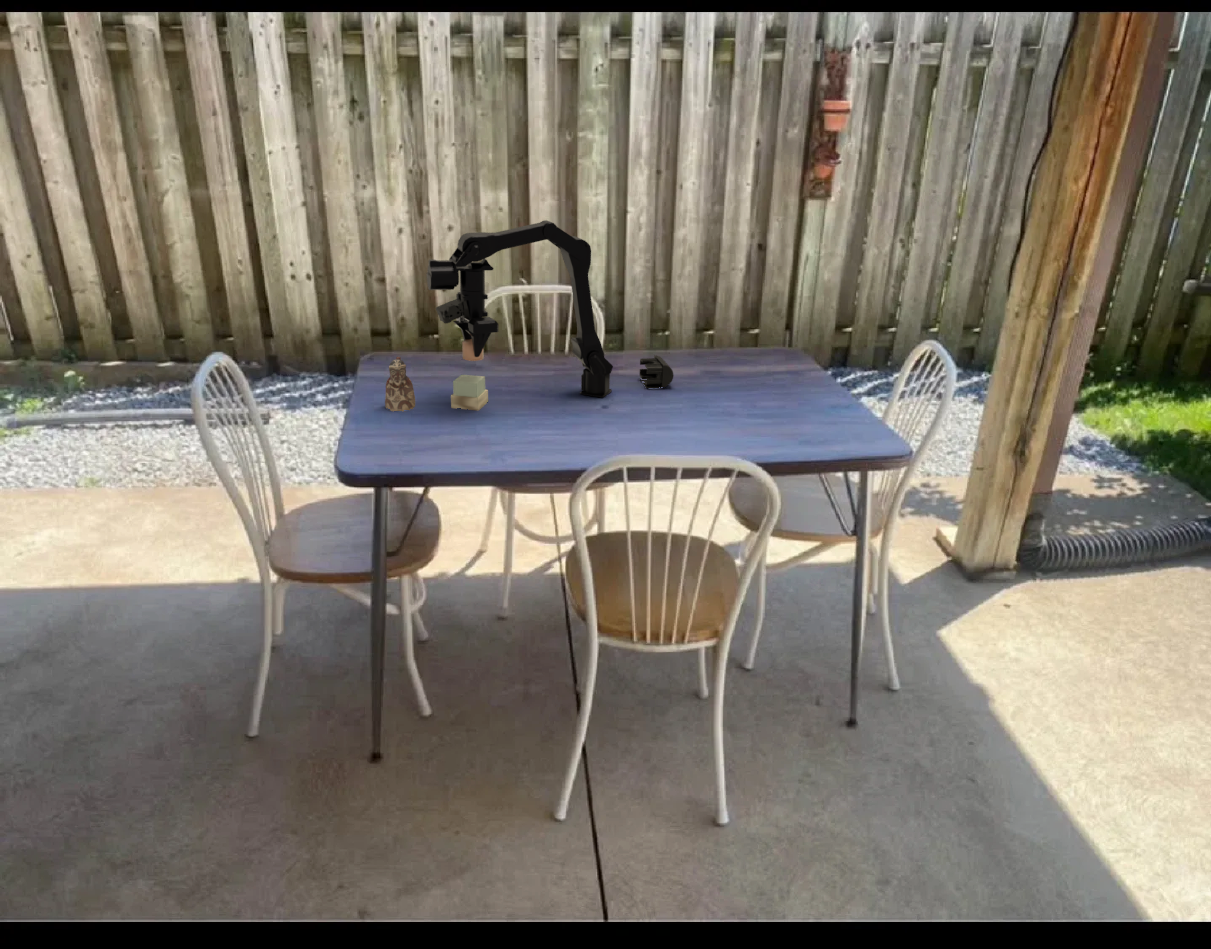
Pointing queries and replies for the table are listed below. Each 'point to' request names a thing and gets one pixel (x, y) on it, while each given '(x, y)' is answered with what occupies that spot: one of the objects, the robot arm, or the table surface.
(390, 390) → the figurine
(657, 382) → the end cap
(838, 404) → the table surface
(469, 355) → the orange-brown short cylinder
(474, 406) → the base block
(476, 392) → the top block
